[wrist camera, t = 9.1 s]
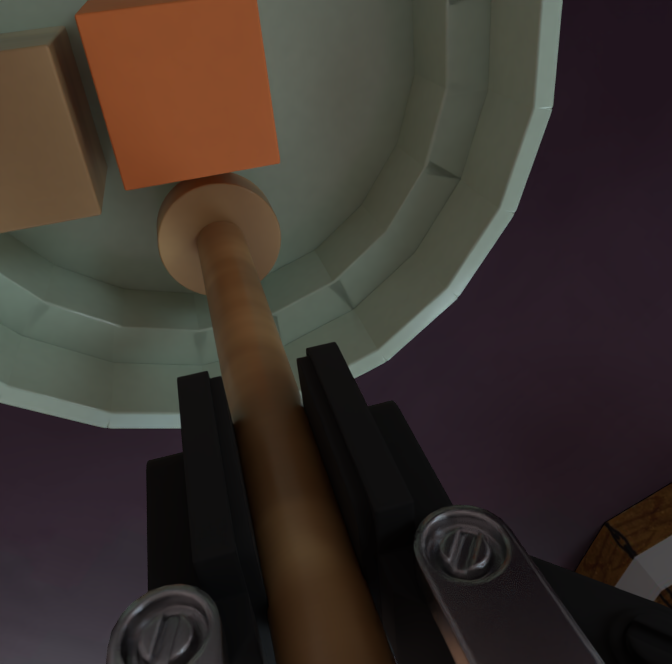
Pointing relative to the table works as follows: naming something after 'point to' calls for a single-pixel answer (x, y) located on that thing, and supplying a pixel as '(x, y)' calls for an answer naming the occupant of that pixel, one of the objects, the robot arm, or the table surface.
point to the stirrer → (271, 426)
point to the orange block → (180, 87)
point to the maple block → (46, 134)
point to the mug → (636, 550)
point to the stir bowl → (295, 203)
